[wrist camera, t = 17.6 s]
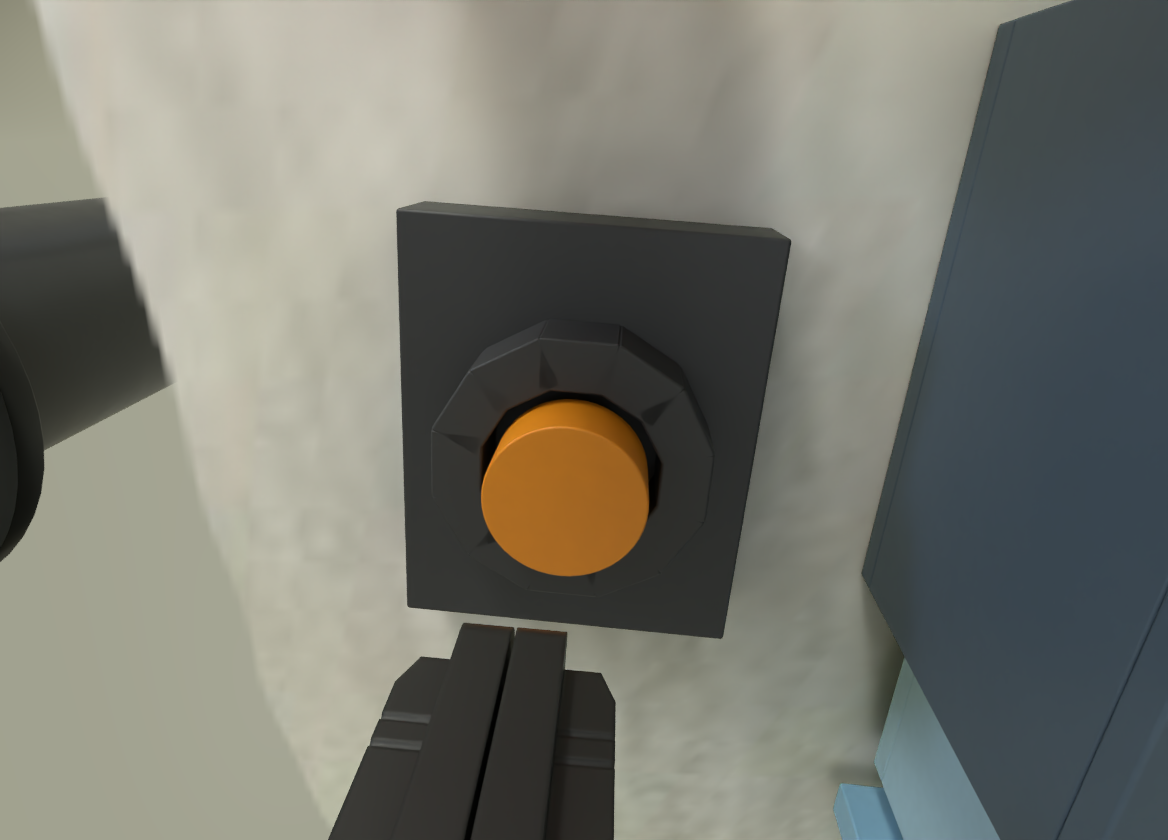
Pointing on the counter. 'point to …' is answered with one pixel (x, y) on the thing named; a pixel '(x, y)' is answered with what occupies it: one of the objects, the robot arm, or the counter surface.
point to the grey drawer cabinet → (1046, 438)
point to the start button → (567, 488)
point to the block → (583, 396)
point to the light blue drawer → (913, 781)
